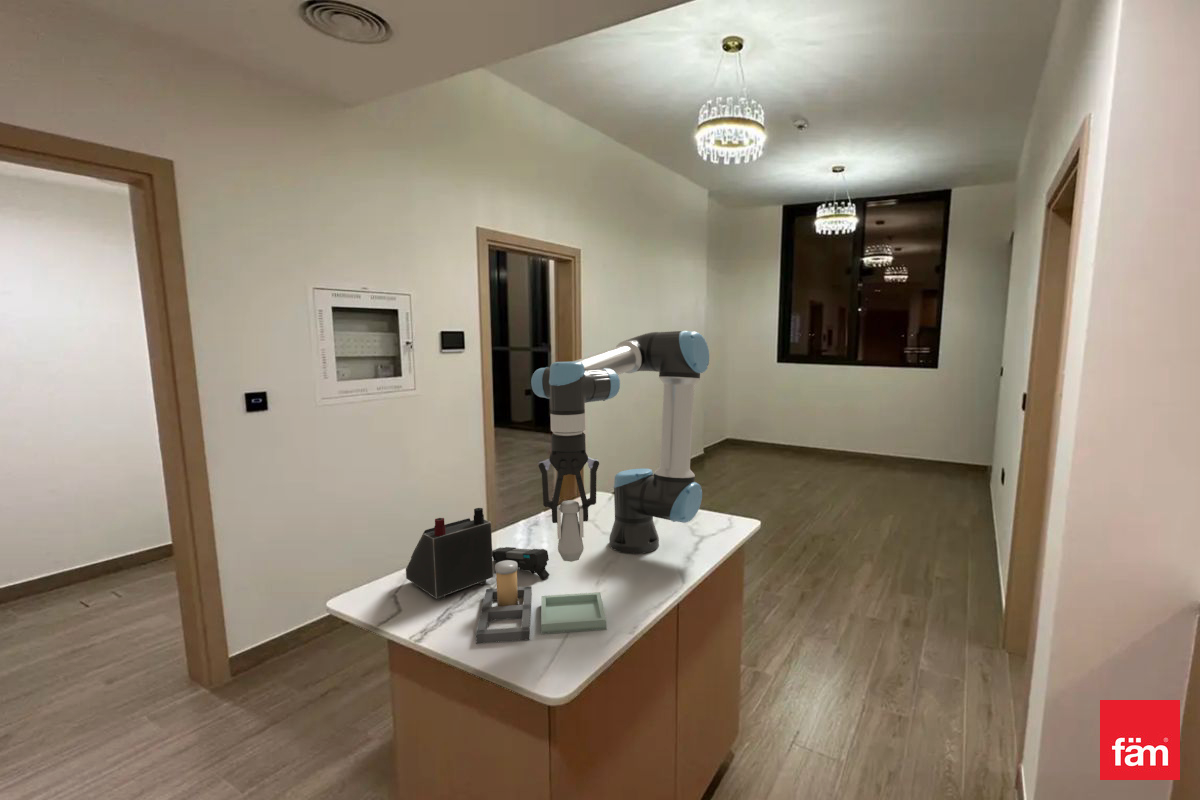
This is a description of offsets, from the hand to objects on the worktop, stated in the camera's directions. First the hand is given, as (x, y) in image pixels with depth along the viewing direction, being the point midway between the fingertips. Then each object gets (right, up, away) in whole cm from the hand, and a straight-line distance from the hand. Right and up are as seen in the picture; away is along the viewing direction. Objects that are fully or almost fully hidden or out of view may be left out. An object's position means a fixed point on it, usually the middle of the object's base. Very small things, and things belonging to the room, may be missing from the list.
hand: (570, 535), depth 120 cm
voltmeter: (-33, -18, +21) cm, 43 cm away
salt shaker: (0, -5, +1) cm, 5 cm away
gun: (-15, -17, +29) cm, 37 cm away
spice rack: (-15, -19, +3) cm, 24 cm away
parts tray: (0, -19, +2) cm, 19 cm away
